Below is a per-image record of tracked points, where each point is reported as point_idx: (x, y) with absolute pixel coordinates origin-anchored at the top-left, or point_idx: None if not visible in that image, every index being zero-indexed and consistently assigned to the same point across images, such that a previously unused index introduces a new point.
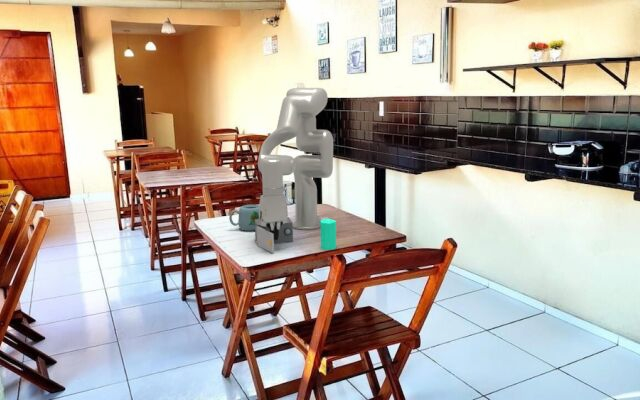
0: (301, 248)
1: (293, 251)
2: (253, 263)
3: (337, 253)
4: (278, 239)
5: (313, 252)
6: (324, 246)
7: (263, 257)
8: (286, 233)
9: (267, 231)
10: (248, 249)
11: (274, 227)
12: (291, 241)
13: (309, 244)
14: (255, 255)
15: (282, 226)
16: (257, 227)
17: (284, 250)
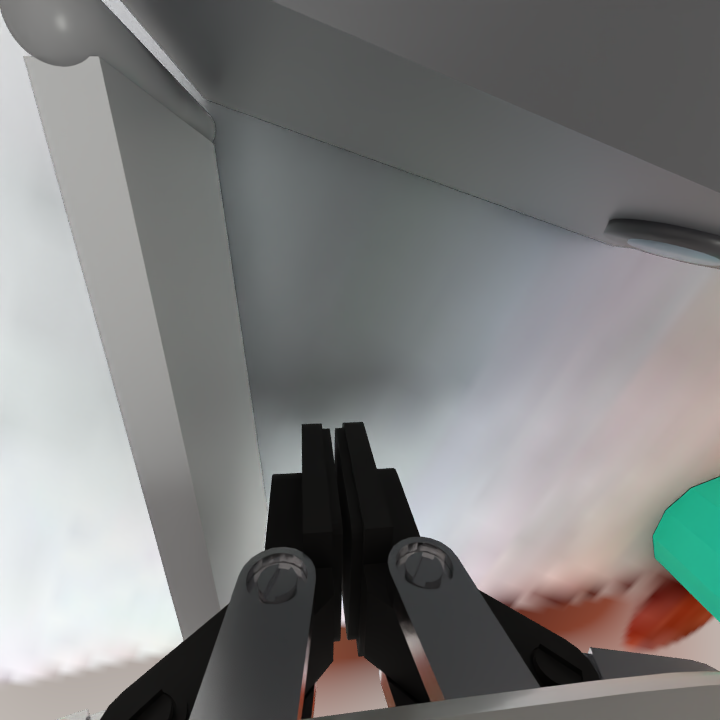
0: (545, 465)
1: (445, 509)
2: (12, 651)
3: (650, 640)
4: (490, 191)
5: (551, 580)
6: (674, 572)
7: (139, 555)
8: (632, 244)
9: (195, 597)
10: (29, 243)
11: (366, 610)
12: (605, 242)
13: (670, 394)
14: (74, 481)
15: (696, 217)
16: (47, 124)
17: (394, 456)
